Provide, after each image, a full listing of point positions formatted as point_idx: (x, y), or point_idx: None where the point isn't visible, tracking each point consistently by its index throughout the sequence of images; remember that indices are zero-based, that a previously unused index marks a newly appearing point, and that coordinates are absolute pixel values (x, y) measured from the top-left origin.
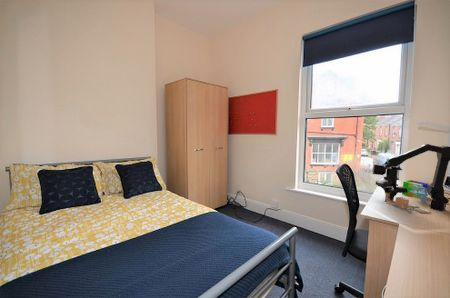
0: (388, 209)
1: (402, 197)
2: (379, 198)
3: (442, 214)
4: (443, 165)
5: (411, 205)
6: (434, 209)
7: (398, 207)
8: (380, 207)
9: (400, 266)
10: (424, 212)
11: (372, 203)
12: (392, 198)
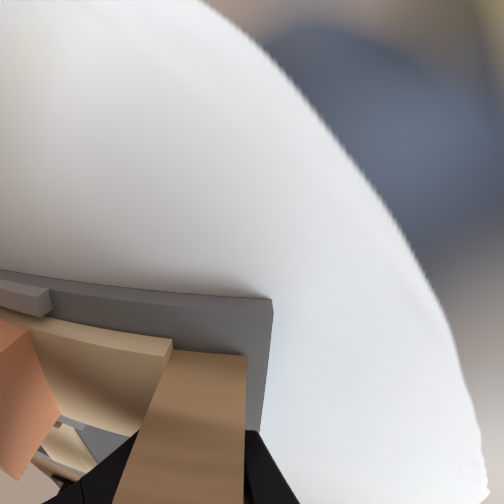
0: (5, 145)
1: (9, 474)
2: (409, 387)
3: (36, 463)
4: None
5: (52, 446)
6: (61, 487)
7: None
8: (62, 74)
9: None
10: None
11: (232, 54)
12: None
